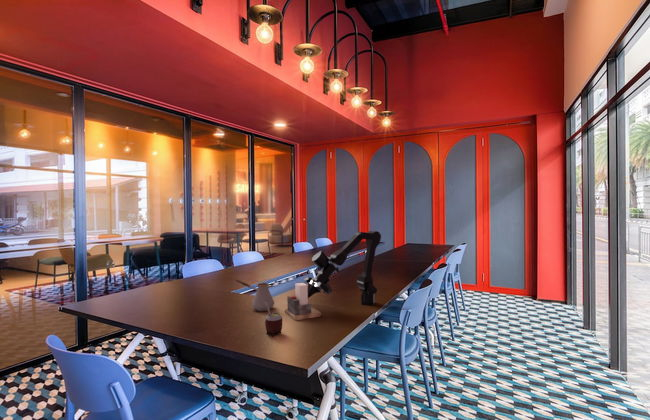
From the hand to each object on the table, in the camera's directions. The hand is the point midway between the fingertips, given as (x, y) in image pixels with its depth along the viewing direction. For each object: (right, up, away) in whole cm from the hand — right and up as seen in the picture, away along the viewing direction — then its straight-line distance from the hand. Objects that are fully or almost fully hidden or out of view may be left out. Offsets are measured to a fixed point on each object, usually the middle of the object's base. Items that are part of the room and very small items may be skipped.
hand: (305, 298), depth 169 cm
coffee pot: (-27, -8, +10) cm, 30 cm away
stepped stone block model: (-2, -8, -1) cm, 8 cm away
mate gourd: (-12, -8, -27) cm, 31 cm away
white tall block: (-2, -6, -1) cm, 6 cm away
